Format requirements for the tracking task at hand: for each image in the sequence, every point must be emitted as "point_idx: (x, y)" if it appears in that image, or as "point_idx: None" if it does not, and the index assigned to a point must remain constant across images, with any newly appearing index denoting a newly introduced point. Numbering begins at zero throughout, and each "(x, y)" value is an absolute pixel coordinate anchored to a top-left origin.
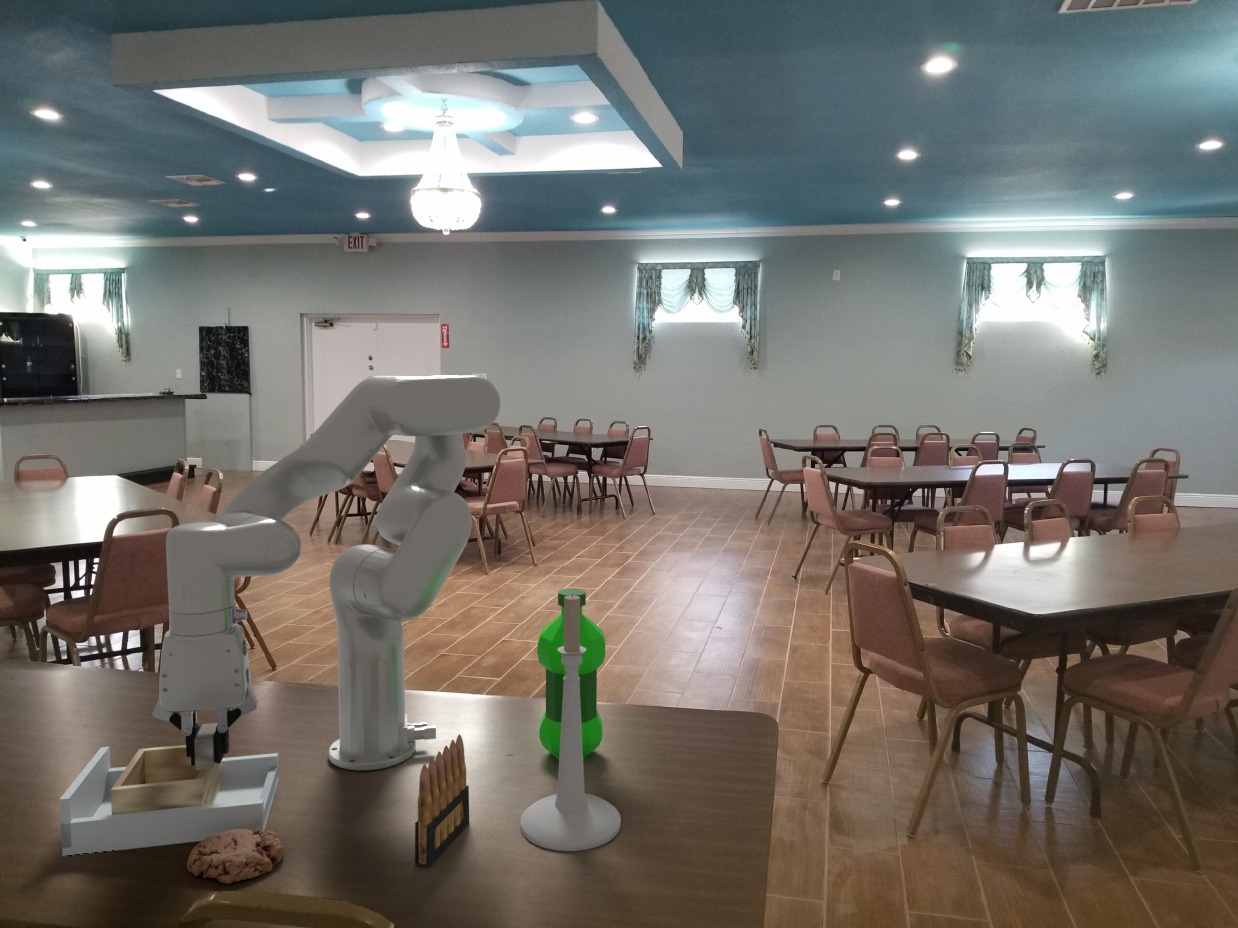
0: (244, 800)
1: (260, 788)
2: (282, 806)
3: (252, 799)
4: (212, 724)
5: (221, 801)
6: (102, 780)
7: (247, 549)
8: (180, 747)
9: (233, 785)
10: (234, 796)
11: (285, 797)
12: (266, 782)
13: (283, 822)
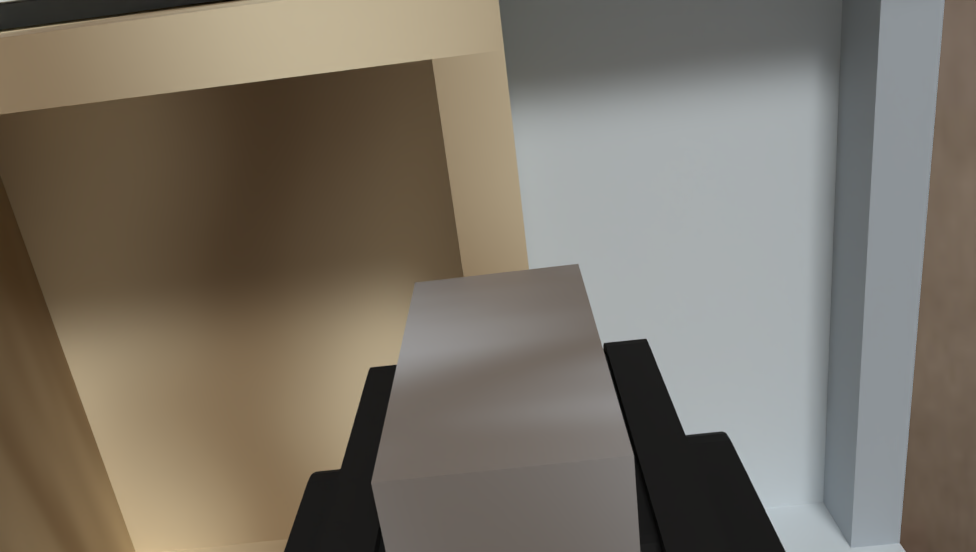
0: (713, 245)
1: (794, 81)
2: (928, 236)
3: (763, 237)
4: (535, 506)
5: (569, 248)
6: None
7: None
8: (75, 97)
9: (586, 6)
10: (636, 186)
11: (942, 118)
12: (883, 185)
13: (941, 411)
